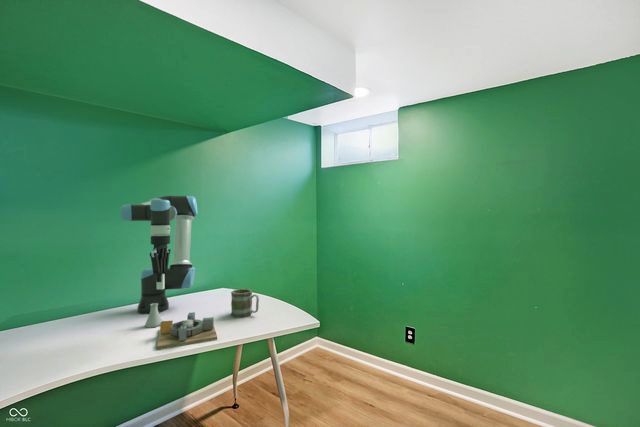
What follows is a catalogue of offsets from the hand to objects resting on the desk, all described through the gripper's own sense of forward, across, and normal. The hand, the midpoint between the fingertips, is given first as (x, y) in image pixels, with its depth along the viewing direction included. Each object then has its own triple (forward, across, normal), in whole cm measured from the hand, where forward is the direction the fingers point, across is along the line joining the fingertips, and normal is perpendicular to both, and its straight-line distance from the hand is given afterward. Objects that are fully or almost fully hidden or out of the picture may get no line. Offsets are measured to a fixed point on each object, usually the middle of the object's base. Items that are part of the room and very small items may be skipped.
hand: (160, 288), depth 130 cm
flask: (+20, +10, +8) cm, 24 cm away
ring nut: (+18, -1, -12) cm, 22 cm away
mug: (+20, +25, -31) cm, 44 cm away
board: (+20, -1, -12) cm, 23 cm away
